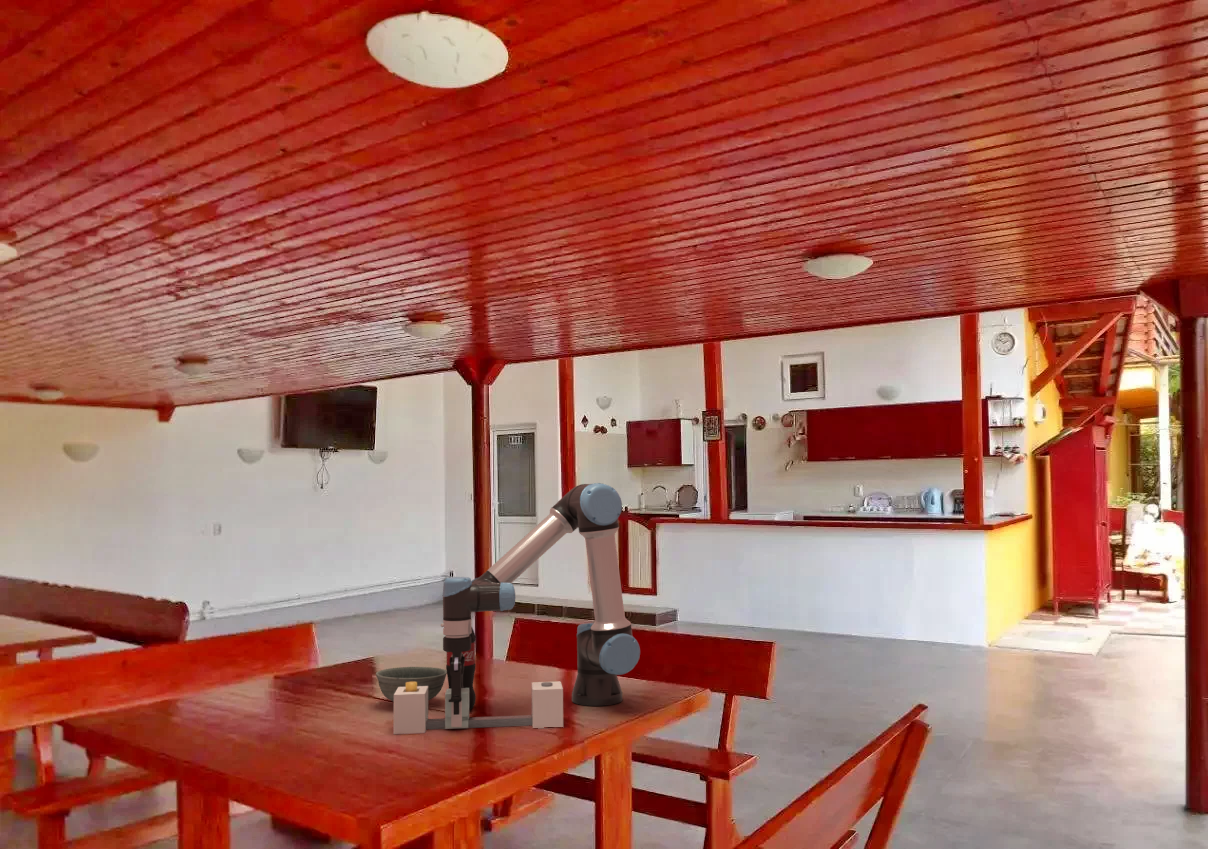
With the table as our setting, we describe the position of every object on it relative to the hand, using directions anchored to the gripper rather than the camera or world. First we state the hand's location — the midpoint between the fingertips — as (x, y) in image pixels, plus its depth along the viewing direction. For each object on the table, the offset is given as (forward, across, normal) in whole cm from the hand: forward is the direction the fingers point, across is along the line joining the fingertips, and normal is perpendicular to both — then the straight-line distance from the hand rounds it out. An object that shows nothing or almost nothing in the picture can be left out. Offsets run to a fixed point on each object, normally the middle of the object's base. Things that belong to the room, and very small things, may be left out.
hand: (457, 722), depth 242 cm
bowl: (+1, -28, -15) cm, 32 cm away
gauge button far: (-7, 0, -12) cm, 14 cm away
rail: (+1, 0, +6) cm, 6 cm away
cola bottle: (+1, -20, 0) cm, 20 cm away
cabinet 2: (+1, 0, +24) cm, 24 cm away
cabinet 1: (+1, 0, -12) cm, 12 cm away
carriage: (+1, 0, 0) cm, 1 cm away
